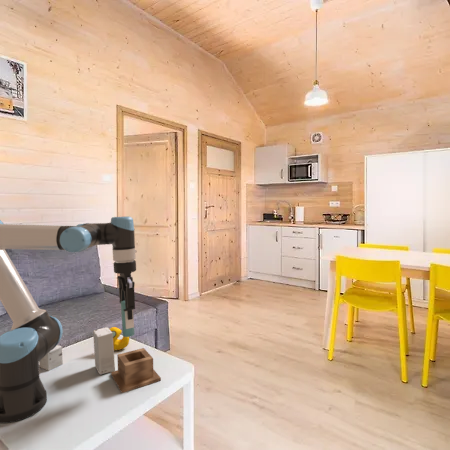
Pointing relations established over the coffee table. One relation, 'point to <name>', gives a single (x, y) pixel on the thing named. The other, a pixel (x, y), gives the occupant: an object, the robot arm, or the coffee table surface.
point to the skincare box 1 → (52, 359)
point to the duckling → (116, 342)
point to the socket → (134, 370)
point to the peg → (129, 331)
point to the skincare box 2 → (104, 350)
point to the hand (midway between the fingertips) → (128, 325)
